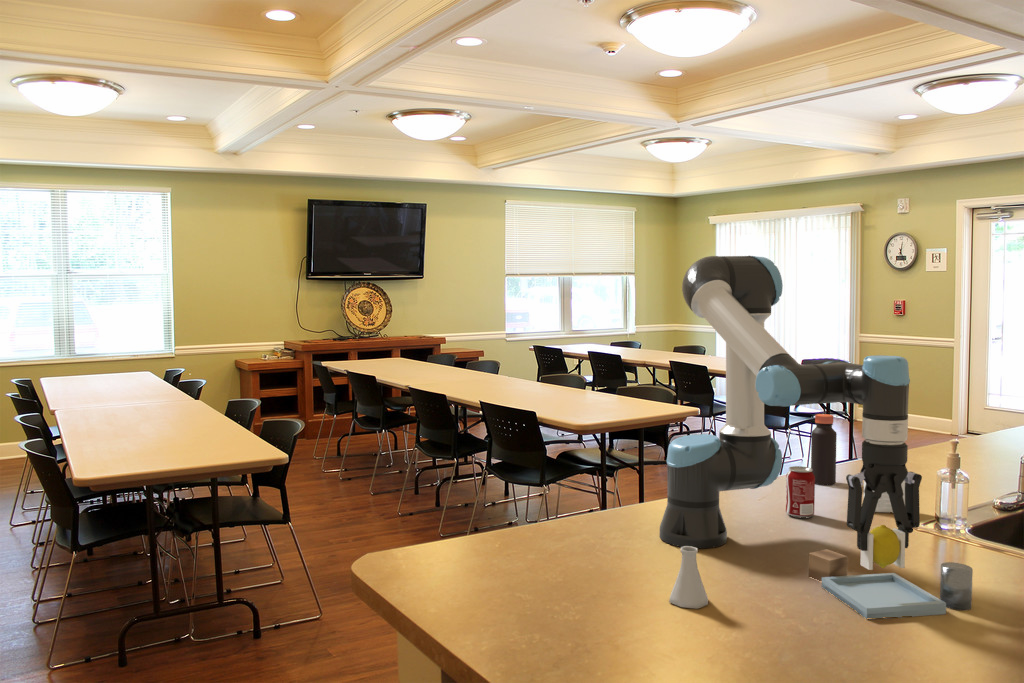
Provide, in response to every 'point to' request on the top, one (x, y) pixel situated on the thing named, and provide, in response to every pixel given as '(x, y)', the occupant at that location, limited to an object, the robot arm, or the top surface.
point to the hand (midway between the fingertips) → (882, 566)
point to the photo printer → (886, 500)
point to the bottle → (823, 450)
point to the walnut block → (827, 564)
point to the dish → (883, 595)
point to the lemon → (885, 546)
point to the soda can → (800, 492)
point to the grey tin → (956, 585)
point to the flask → (689, 582)
